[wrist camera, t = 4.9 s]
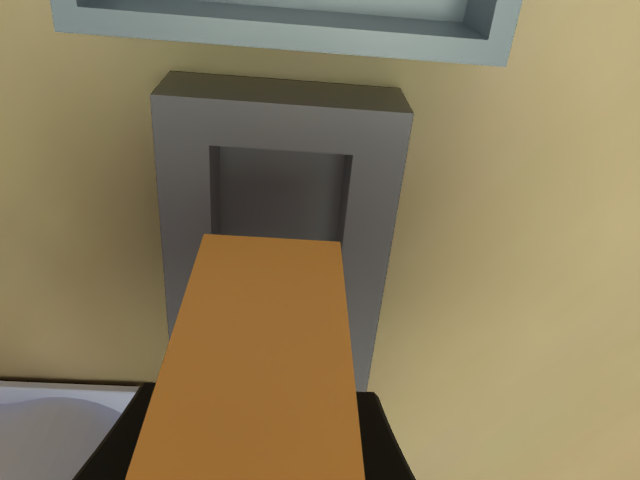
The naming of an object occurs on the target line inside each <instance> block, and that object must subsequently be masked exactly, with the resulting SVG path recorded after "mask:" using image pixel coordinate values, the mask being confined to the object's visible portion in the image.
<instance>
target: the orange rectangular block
mask: <svg viewBox="0 0 640 480" xmlns="http://www.w3.org/2000/svg"><path fill="white" fill-rule="evenodd" d="M125 480H365V474H364V464H363V454H362V445H361V435H360V426H359V416H358V406H357V397H356V387H355V378H354V368H353V358H352V349H351V339H350V329H349V320H348V310H347V301H346V291H345V281H344V272H343V262H342V252H341V243H340V242H336V241H318V240H301V239H284V238H266V237H249V236H232V235H215V234H204V235H203V238H202V241H201V244H200V247H199V250H198V254H197V257H196V260H195V263H194V266H193V269H192V272H191V275H190V279H189V282H188V285H187V288H186V291H185V294H184V297H183V300H182V304H181V307H180V310H179V313H178V316H177V319H176V322H175V325H174V329H173V332H172V335H171V338H170V341H169V344H168V347H167V350H166V353H165V357H164V360H163V363H162V366H161V369H160V372H159V375H158V378H157V382H156V385H155V388H154V391H153V394H152V397H151V400H150V403H149V407H148V410H147V413H146V416H145V419H144V422H143V425H142V428H141V431H140V435H139V438H138V441H137V444H136V447H135V450H134V453H133V456H132V460H131V463H130V466H129V469H128V472H127V475H126V478H125Z"/></svg>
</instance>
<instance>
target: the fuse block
mask: <svg viewBox="0 0 640 480" xmlns="http://www.w3.org/2000/svg"><path fill="white" fill-rule="evenodd" d="M150 100H151V113H152V126H153V139H154V152H155V164H156V177H157V190H158V203H159V216H160V229H161V242H162V255H163V268H164V281H165V294H166V307H167V320H168V333H169V341H170V338H171V335H172V332H173V329H174V325H175V322H176V319H177V316H178V313H179V310H180V307H181V304H182V300H183V297H184V294H185V291H186V288H187V285H188V282H189V279H190V275H191V272H192V269H193V266H194V263H195V260H196V257H197V254H198V250H199V247H200V244H201V241H202V238H203V235H204V234H215V235H232V236H249V237H266V238H284V239H301V240H318V241H336V242H340V243H341V252H342V262H343V272H344V281H345V291H346V301H347V310H348V320H349V329H350V339H351V349H352V358H353V368H354V378H355V387H356V392H366V391H367V385H368V379H369V373H370V368H371V362H372V356H373V350H374V344H375V338H376V332H377V326H378V321H379V315H380V309H381V303H382V297H383V291H384V285H385V279H386V274H387V268H388V262H389V256H390V250H391V244H392V238H393V233H394V227H395V221H396V215H397V209H398V203H399V197H400V191H401V186H402V180H403V174H404V168H405V162H406V156H407V150H408V144H409V139H410V133H411V127H412V121H413V115H414V113H413V111H412V109H411V108H410V106H409V104H408V102H407V100H406V98H405V96H404V94H403V93H402V91H401V89H400V88H390V87H377V86H364V85H350V84H337V83H324V82H310V81H297V80H284V79H270V78H257V77H244V76H230V75H217V74H204V73H190V72H177V71H170V72H169V73H168V74H167V76H166V77H165V78H164V79H163V80H162V81H161V82H160V84H159V85H158V86H157V87H156V88H155V89H154V91H153V92H152V93H151V94H150Z"/></svg>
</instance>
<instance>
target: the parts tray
mask: <svg viewBox="0 0 640 480" xmlns="http://www.w3.org/2000/svg"><path fill="white" fill-rule="evenodd" d="M50 3H51V10H52V16H53V22H54V29H55V32H64V33H77V34H89V35H102V36H115V37H128V38H141V39H153V40H166V41H179V42H192V43H205V44H217V45H230V46H243V47H256V48H269V49H281V50H294V51H307V52H320V53H332V54H345V55H358V56H371V57H384V58H396V59H409V60H422V61H435V62H448V63H460V64H473V65H486V66H499V67H506V65H507V61H508V57H509V53H510V49H511V45H512V41H513V37H514V33H515V29H516V25H517V21H518V16H519V12H520V8H521V4H522V0H50Z"/></svg>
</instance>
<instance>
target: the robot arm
mask: <svg viewBox="0 0 640 480" xmlns="http://www.w3.org/2000/svg"><path fill="white" fill-rule="evenodd" d="M155 385H156V383H144V384H143V385H142V386H140V387H134V386H110V385H86V384H63V383H39V382H15V381H0V480H125V478H126V475H127V472H128V469H129V466H130V463H131V460H132V456H133V453H134V450H135V447H136V444H137V441H138V438H139V435H140V431H141V428H142V425H143V422H144V419H145V416H146V413H147V410H148V407H149V403H150V400H151V397H152V394H153V391H154V388H155ZM356 397H357V406H358V416H359V426H360V435H361V445H362V454H363V464H364V474H365V480H416V479H415V477H414V475H413V473H412V472H411V470H410V468H409V466H408V464H407V462H406V460H405V458H404V456H403V453H402V451H401V449H400V447H399V445H398V443H397V441H396V439H395V436H394V434H393V432H392V430H391V427H390V425H389V423H388V420H387V418H386V416H385V413H384V411H383V408H382V405H381V403H380V400H379V397H378V396H377V395H376V394H375V393H374V392H356Z"/></svg>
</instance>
